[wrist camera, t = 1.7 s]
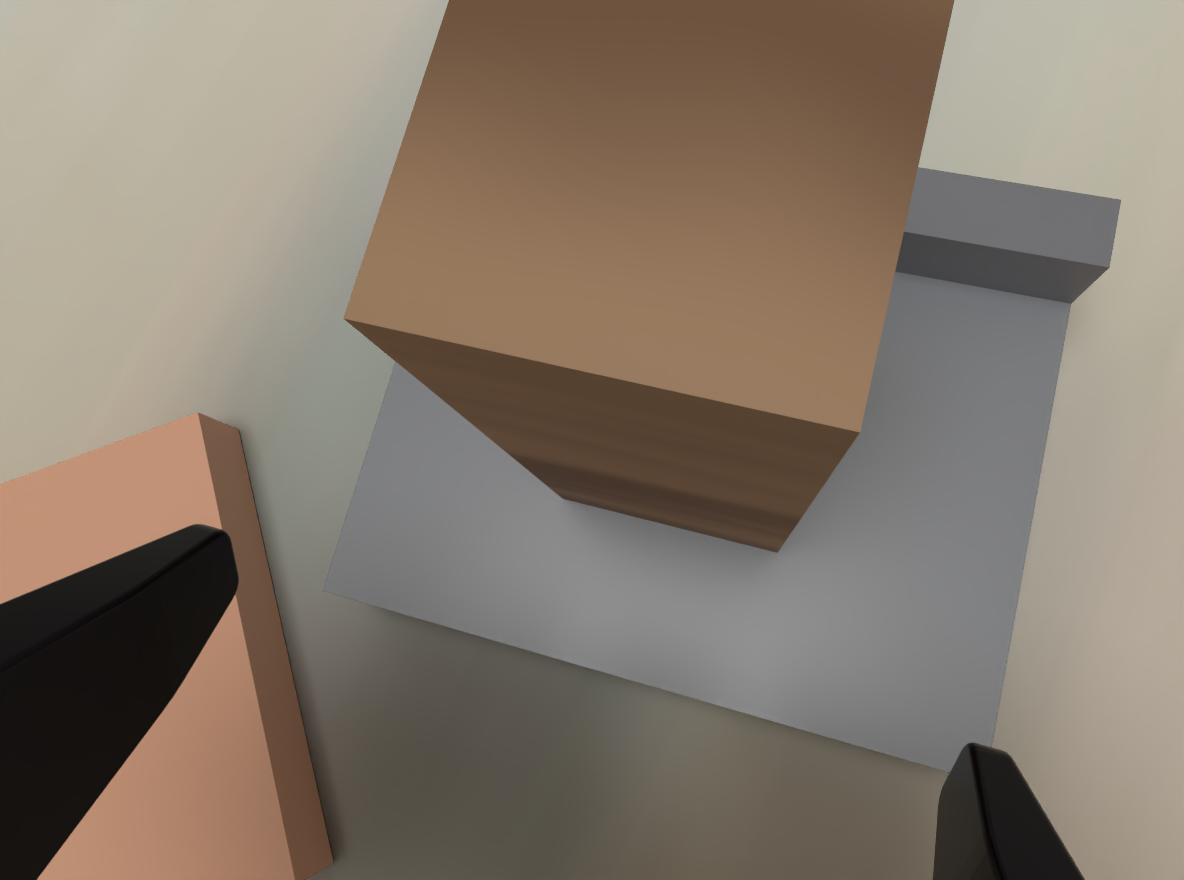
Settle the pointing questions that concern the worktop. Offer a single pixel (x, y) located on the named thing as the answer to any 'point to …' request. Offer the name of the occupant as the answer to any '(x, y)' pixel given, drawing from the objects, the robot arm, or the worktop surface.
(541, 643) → the slate shelf ledge
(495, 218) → the walnut block
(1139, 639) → the worktop surface
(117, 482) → the terracotta tile stand
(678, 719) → the worktop surface
